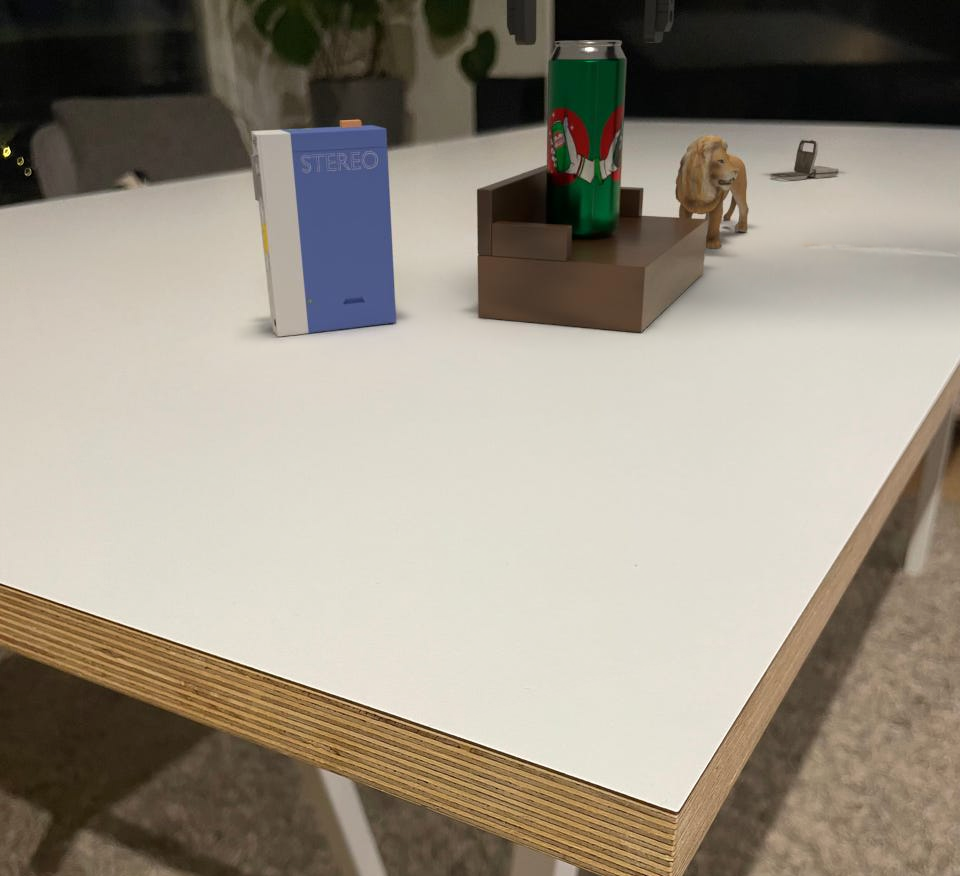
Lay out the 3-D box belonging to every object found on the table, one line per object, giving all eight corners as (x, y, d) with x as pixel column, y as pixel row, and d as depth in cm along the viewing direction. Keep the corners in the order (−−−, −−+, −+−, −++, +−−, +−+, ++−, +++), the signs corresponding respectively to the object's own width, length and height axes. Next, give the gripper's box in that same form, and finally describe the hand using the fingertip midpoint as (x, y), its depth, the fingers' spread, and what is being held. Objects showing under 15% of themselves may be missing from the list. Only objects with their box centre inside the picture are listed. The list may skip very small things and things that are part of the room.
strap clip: (823, 173, 128) (827, 136, 126) (840, 176, 126) (845, 138, 124) (767, 178, 125) (771, 140, 123) (784, 181, 123) (788, 142, 121)
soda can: (606, 226, 75) (614, 39, 69) (627, 239, 71) (637, 40, 65) (538, 229, 74) (541, 40, 69) (554, 242, 70) (559, 42, 64)
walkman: (383, 313, 69) (372, 118, 64) (396, 323, 67) (386, 122, 62) (266, 326, 67) (244, 124, 61) (276, 337, 65) (254, 128, 59)
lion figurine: (728, 258, 84) (740, 138, 80) (663, 254, 86) (671, 137, 81) (752, 227, 96) (763, 122, 92) (694, 224, 98) (702, 120, 94)
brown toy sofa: (703, 273, 79) (712, 161, 75) (641, 332, 64) (649, 197, 61) (565, 263, 83) (568, 156, 79) (478, 317, 68) (476, 189, 65)
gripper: (734, -276, 60) (710, 41, 67) (503, -248, 65) (505, 44, 72) (706, -309, 54) (684, 44, 61) (454, -275, 59) (462, 47, 66)
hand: (587, 43), depth 67 cm, fingers open, 8 cm apart
